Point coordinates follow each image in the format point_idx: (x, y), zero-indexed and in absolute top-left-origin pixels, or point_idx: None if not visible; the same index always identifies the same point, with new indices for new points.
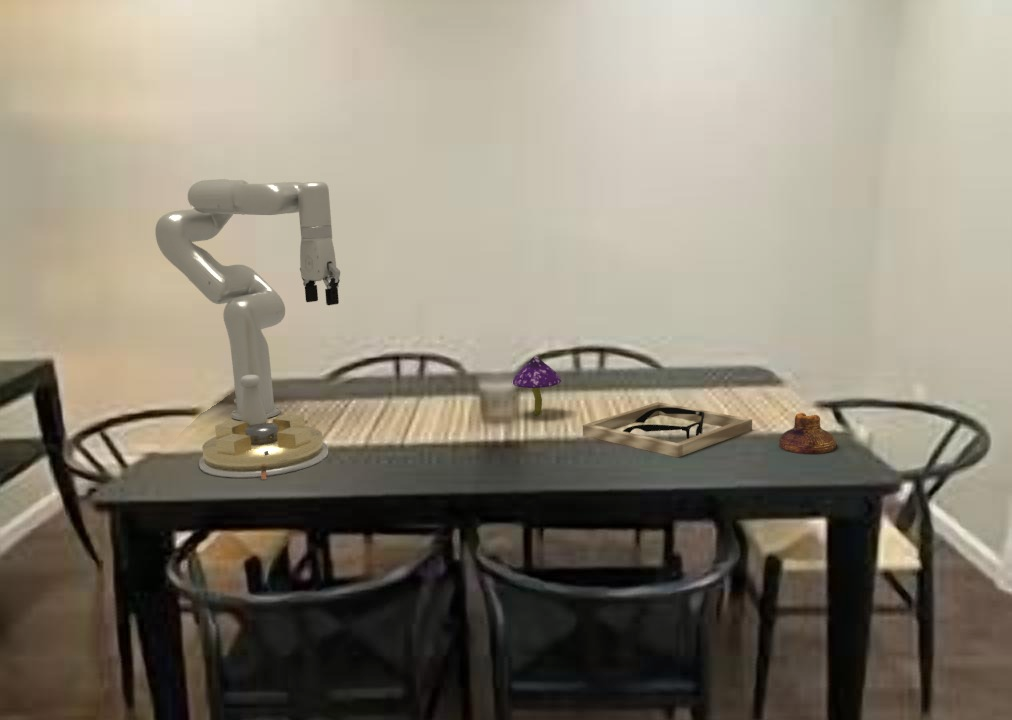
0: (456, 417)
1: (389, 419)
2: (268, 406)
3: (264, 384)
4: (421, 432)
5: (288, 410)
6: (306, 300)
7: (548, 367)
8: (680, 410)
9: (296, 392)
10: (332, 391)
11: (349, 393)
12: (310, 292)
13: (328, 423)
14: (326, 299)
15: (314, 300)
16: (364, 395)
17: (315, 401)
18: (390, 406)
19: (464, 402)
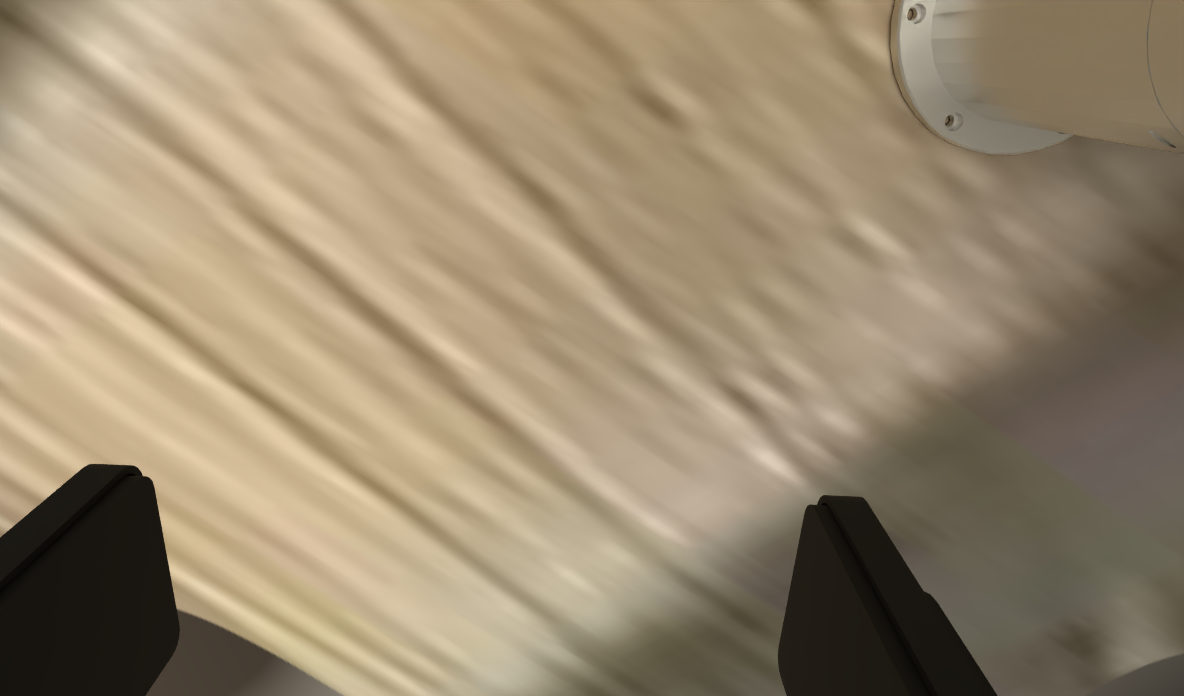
0: (188, 542)
1: (371, 372)
2: (946, 43)
3: (1018, 24)
4: (67, 323)
5: (932, 186)
6: (842, 503)
7: None
8: None
9: (1179, 414)
10: (1021, 515)
11: (916, 535)
12: (850, 678)
13: (536, 160)
14: (47, 516)
15: (788, 613)
16: None
17: (948, 368)
18: (563, 502)
19: (373, 686)
